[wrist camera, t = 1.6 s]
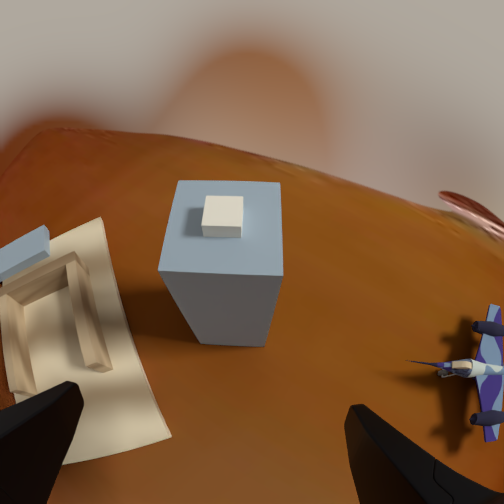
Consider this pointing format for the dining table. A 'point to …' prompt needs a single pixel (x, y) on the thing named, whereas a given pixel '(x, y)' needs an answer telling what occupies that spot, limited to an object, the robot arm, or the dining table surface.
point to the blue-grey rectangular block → (225, 259)
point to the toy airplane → (484, 372)
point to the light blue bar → (24, 252)
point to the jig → (79, 344)
